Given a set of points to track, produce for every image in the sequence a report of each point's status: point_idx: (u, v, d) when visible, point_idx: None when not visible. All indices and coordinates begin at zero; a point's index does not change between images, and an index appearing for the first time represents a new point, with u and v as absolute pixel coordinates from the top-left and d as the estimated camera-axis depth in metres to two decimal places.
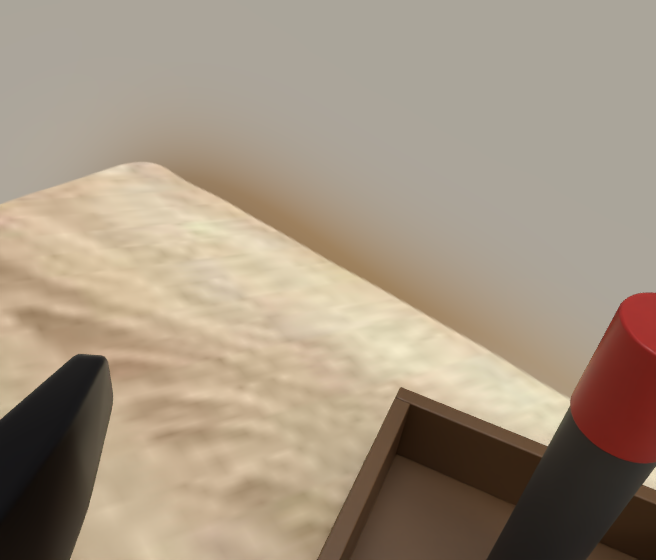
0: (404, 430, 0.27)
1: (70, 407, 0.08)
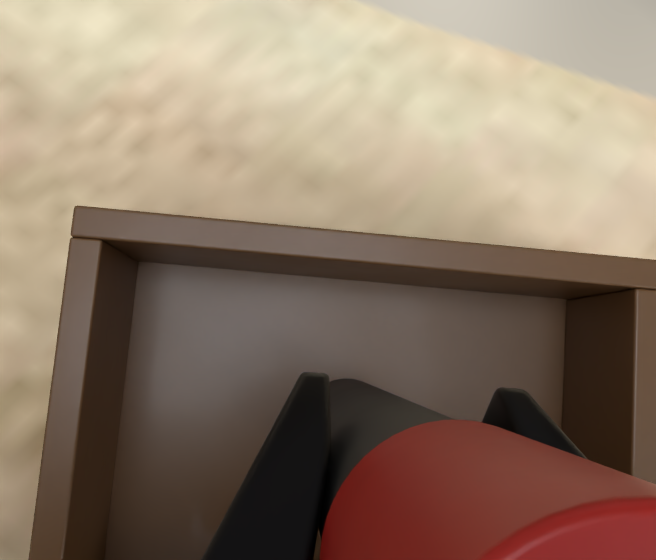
0: (125, 252, 0.15)
1: (323, 426, 0.08)
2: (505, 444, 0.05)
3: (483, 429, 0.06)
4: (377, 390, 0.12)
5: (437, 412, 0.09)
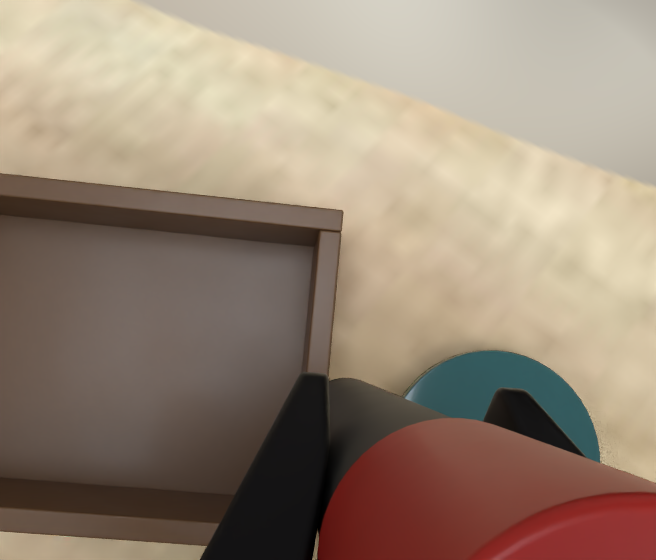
0: None
1: (323, 426, 0.08)
2: (502, 442, 0.05)
3: (480, 427, 0.06)
4: (376, 389, 0.12)
5: (436, 411, 0.09)
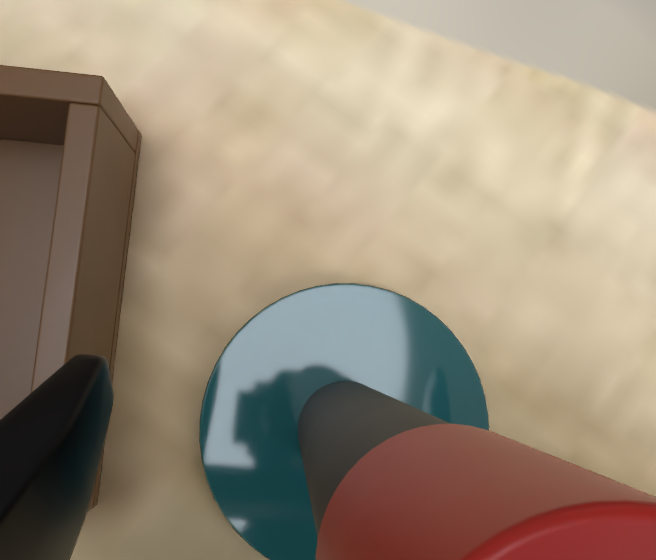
0: None
1: (70, 407, 0.08)
2: (494, 449, 0.05)
3: (474, 434, 0.06)
4: (375, 393, 0.12)
5: (432, 416, 0.09)
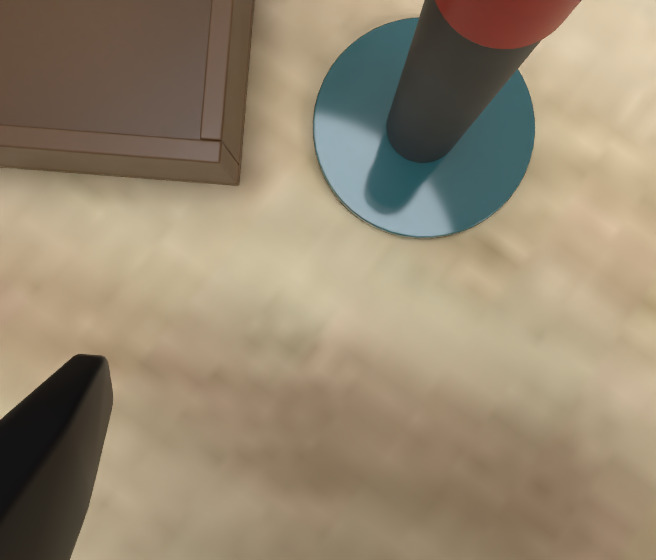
0: None
1: (70, 407, 0.08)
2: None
3: None
4: None
5: None
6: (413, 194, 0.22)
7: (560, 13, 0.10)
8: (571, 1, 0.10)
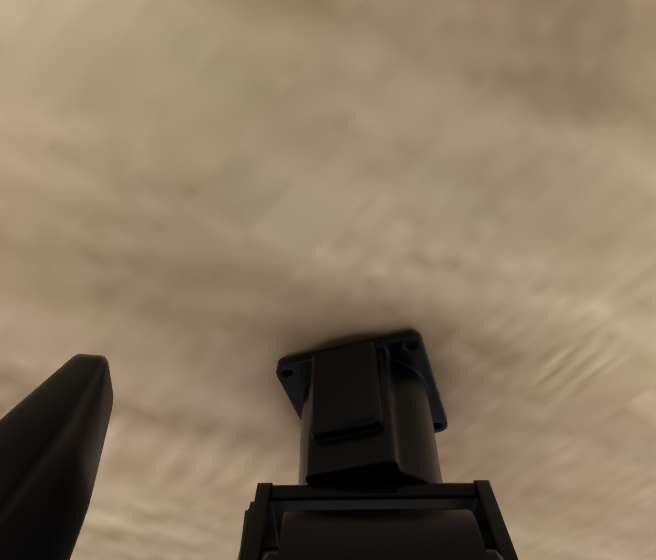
0: None
1: (70, 407, 0.08)
2: None
3: None
4: None
5: None
6: None
7: None
8: None
